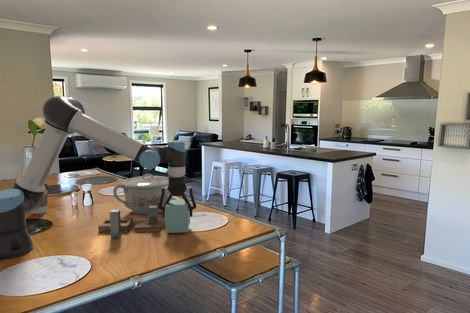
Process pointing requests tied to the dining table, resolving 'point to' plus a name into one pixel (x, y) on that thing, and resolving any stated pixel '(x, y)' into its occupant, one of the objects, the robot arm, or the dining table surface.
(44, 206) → the coffee cup
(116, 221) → the pin
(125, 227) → the build board
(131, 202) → the chamber pot
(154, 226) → the board
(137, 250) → the dining table surface
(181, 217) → the block
